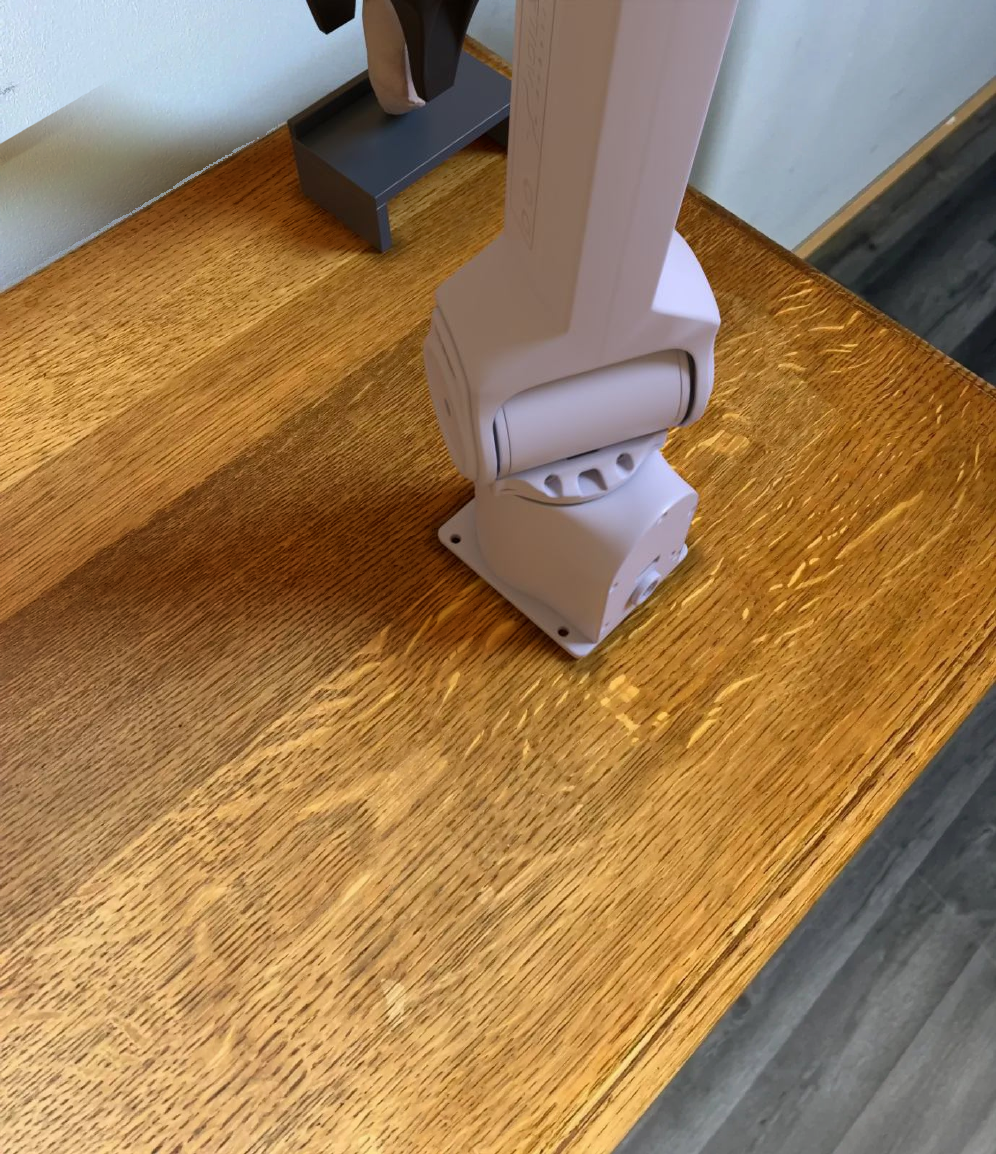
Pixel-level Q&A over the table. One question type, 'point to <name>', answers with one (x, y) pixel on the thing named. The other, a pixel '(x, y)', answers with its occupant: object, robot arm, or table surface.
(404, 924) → the table surface
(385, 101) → the fossil
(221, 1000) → the table surface
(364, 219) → the shelf
